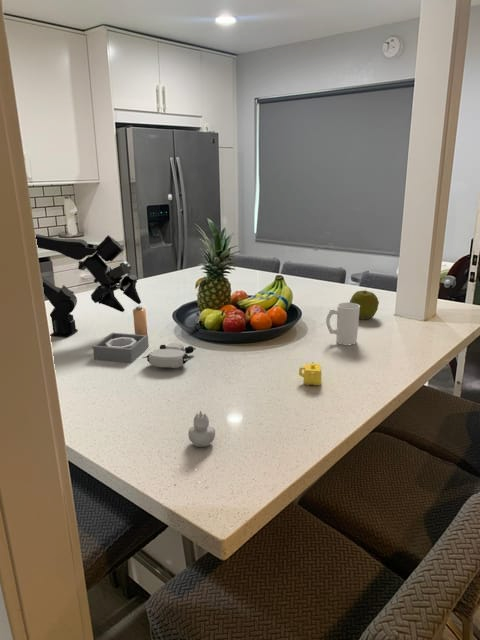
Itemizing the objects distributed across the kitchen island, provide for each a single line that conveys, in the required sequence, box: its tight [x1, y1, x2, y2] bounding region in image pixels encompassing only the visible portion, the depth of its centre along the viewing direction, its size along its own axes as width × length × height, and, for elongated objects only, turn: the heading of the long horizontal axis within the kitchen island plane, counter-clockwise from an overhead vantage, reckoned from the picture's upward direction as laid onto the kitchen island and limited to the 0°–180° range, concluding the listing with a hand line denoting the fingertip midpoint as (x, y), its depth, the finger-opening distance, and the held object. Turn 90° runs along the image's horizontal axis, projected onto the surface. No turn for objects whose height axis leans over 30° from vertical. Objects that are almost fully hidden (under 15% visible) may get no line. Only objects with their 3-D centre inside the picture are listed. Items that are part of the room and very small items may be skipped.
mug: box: [325, 302, 360, 346], centre depth 151 cm, size 10×7×12 cm, turn 89°
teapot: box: [298, 362, 322, 386], centre depth 125 cm, size 8×6×5 cm
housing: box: [92, 332, 150, 364], centre depth 145 cm, size 12×12×4 cm
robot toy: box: [142, 342, 197, 369], centre depth 138 cm, size 12×4×15 cm
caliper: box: [195, 311, 201, 324], centre depth 173 cm, size 20×1×6 cm, turn 173°
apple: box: [349, 290, 380, 320], centre depth 173 cm, size 10×10×11 cm
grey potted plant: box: [187, 410, 216, 448], centre depth 98 cm, size 5×7×8 cm
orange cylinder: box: [132, 306, 149, 336], centre depth 157 cm, size 4×4×10 cm
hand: (132, 307), depth 156 cm, fingers open, 9 cm apart
